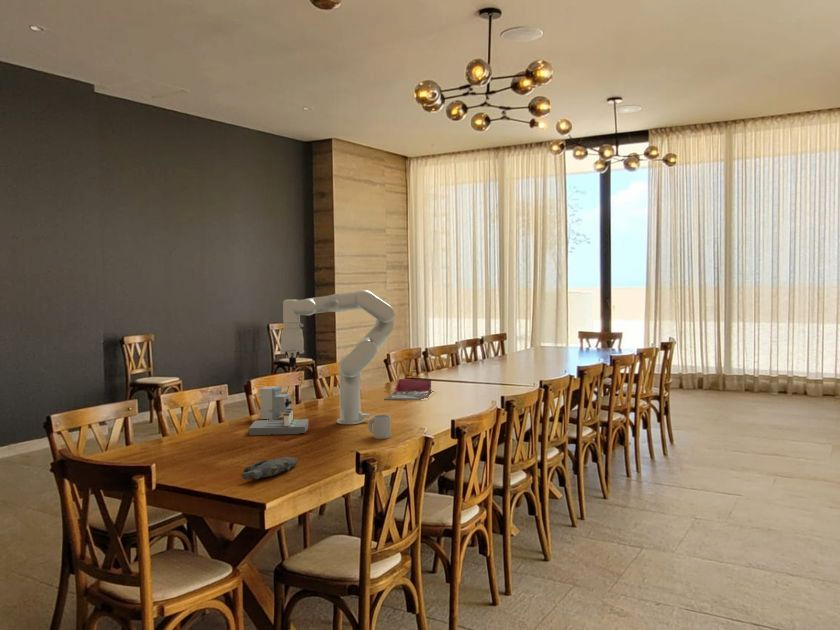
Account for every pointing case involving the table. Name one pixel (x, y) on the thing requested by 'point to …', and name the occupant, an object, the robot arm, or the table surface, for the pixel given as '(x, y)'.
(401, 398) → the open laptop
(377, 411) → the table surface
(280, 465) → the grey rough slab
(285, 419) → the lever
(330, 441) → the table surface
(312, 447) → the table surface
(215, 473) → the table surface
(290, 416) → the middle lever
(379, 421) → the cup
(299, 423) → the switch panel
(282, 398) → the circuit breaker
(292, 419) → the back lever
